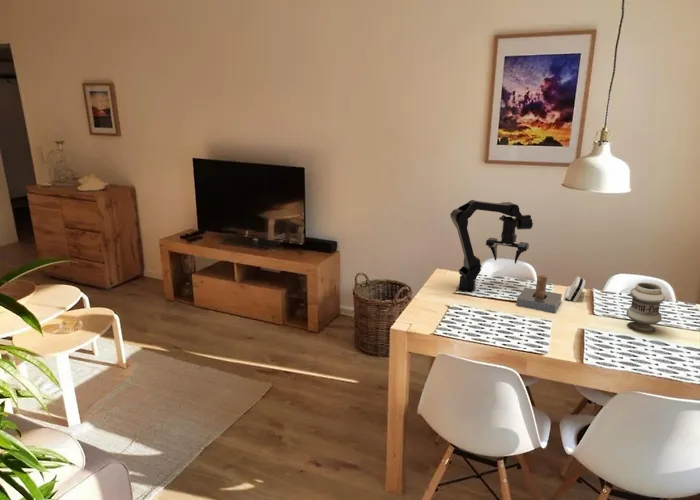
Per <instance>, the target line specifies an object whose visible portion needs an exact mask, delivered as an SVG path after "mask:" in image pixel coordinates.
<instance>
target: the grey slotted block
mask: <svg viewBox="0 0 700 500" xmlns="http://www.w3.org/2000/svg"><path fill="white" fill-rule="evenodd" d="M535 292H536V288H531V287H524V288H523V290H522V291H521V292H520V294H519V295H518V296H517V298H516V302H515V303H516V306H517V307H522V308H525V309H526V308H527V309H532V310H537V311H540V312H541V311H542V312H547V313H551V314H556V312H557V310H558V309H559V306H560V304H561V302H562V296H563V294H562V293H558V292H557V293H556V292H552V291H546V290H545V298H544V299H541V298H536V297H535Z"/></svg>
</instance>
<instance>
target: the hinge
mask: <svg viewBox="0 0 700 500" xmlns="http://www.w3.org/2000/svg"><path fill="white" fill-rule="evenodd" d="M585 285H586V280H585V278H581V277H580V276H578V275H577V276H576V277H575V279H574V281H573V282H572V284H571V285H569V286H567V287H566V289H565V293H564V295H563V296H564V297H563V301H565V300H566V299H567V300H569V301H572V302H573V303H576V302H577V301H578V299H579V297H580V296H581V294H582V292H583V290H584V288H585Z"/></svg>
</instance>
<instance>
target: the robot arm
mask: <svg viewBox="0 0 700 500" xmlns="http://www.w3.org/2000/svg"><path fill="white" fill-rule="evenodd" d="M476 211H485V212H493V213H494V212H495V213H500V214H503V215H502V216H500V217H499V218H498V219H499V220H500V221H502V231H501V234H500V238H501V239H500V240H498V238H495V237H489V238H488V239H486V241H485V246H488V248H489V249H490V250H491V252H492V256H493V258H494V261H497V258H498V246H505V247H511V248H516V249H517V250H516V252H515V257H514V264H517V262H518V260H519V257H520V256H521V253H524V252H527V251H528V250H529V249H530V244H529V242H523V241H520V242H518V243H517V237H518V236H517V234H516V229H517V230H531V229H532V228H533V226H534V222H533V219H532V215H531V214H523V215H522V213H521V210H520V206H519V205H518V204H515V203H513V202H511V201H507V202H498V203H496V202H488V201H482V200H476V199H471V200H469V201H467V202H466V203H464V204H462V205H460V206H459V207H457V208H454V209H453V210H451V212H450V219H451V221H452V223H453V225H454V226H455V228H456V231H457V234H458V238H459V241H460V246H461V248H462V249H461V250H462V253H463V266H462V267H460V268H459V270H458V274H459V275H460V276H459V285H458V288H457V290H458V291H463V292H468V293H472V292H473V291H474V290H475V289H476V279H477V278H478V275H479V274H480V273H481V270H482V268H483V267H482V265H481V259H480V258H478V257H477V256H475V254H474V250H473V246H472V242H471V239H470V234H469V230H468V225H469V218H470V217H472V216H473V214H475V212H476Z"/></svg>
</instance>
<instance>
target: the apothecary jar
mask: <svg viewBox="0 0 700 500" xmlns="http://www.w3.org/2000/svg"><path fill="white" fill-rule="evenodd" d="M629 295H630V297H631V299H632V300H631V306H630V307H628V308H627V309H626V315H627V317H628V318H629V319H630V320H631V321H630V322H628V323H627V327H628V328H629V329H631V330H633V331H634V332H637V333H641V334H653V333H656V330H657V329H656V328H655V327H654V326H653V325H656V324H658V323H660V322H661V320H662V315H661V313H660V306H661V303H663V302H664V301H665V300H666V299H665V298H666V297H665V294H664V293H663V292H662V287H661V285H659V284H657V283H653V282H643V281H642V282H641V281H640V282H637V283H636V285H635V287H634V288H632V289H631V290H630V293H629Z"/></svg>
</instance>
